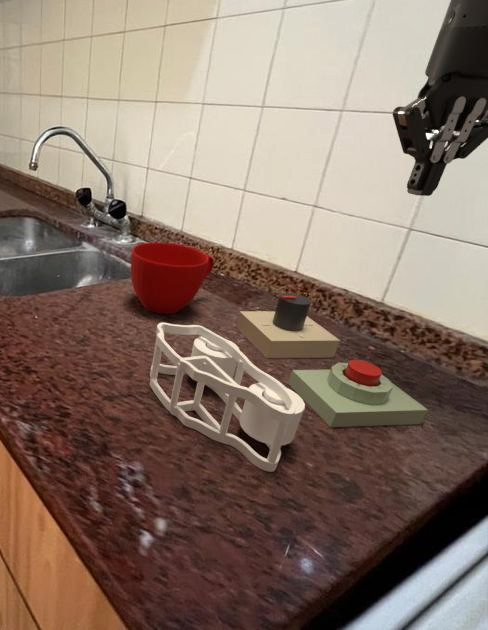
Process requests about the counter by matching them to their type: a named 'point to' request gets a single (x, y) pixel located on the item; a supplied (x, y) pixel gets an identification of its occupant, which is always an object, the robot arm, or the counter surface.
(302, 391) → the power switch
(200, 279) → the ceramic cup
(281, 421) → the skeletal toy car
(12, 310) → the counter surface
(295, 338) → the control panel
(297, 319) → the dial
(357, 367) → the power button
